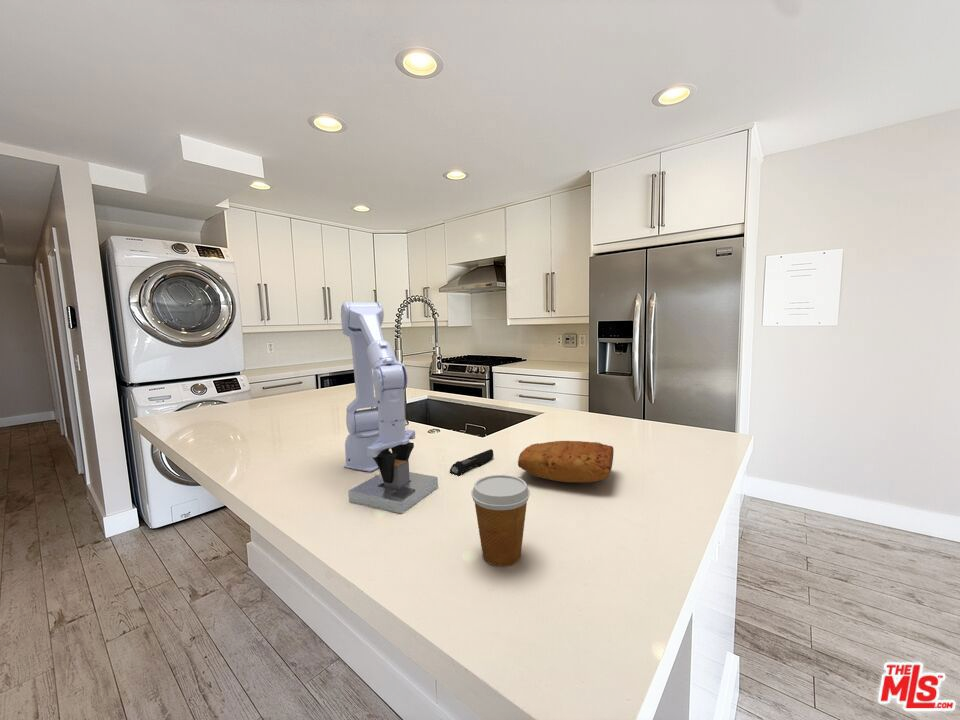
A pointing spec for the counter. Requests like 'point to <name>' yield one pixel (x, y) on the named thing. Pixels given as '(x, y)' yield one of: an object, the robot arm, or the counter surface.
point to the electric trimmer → (471, 462)
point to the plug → (399, 475)
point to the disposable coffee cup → (501, 517)
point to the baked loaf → (568, 461)
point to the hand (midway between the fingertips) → (394, 478)
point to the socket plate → (393, 493)
